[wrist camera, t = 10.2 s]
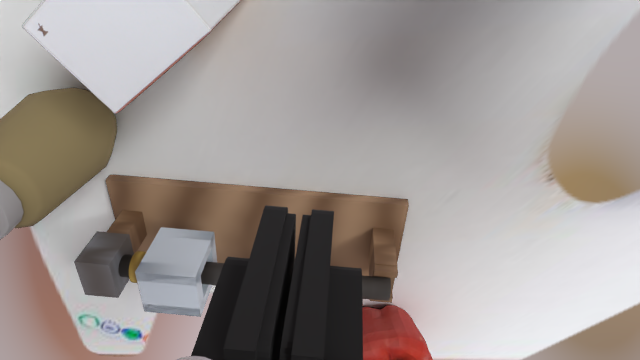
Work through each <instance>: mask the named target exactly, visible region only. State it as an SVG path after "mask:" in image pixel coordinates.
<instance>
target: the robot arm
mask: <svg viewBox="0 0 640 360" xmlns="http://www.w3.org/2000/svg"><path fill="white" fill-rule="evenodd" d="M333 220H334V211H326V210H314V209H312V212H311V215H303V216H302V221H301V227H300V233H299V239H298V245H297V251H296V257H295V239H296V214H291V213H288V207H279V206H267V205H266V206H265V207H264V210H263V213H262V217H261V220H260V224H259V227H258V230H257V234H256V237H255V241H254V244H253V248H252V251H251V254H250V258H238V257H227V258H226V260H225V262H224V265H223V268H222V270H221V273H220V276H219V279H218V282H217V285H216V287H215V290H214V293H213V296H212V299H211V301H210V304H209V308H208V310H207V313H206V315H205V318H204V321H203V324H202V327H201V330H200V332H199V335H198V338H197V341H196V344H195V347H194V349H193V352H192V355H191V356H189V357H184V358H180V359H177V360H363V311H362V269H361V268H351V267H340V266H330V262H331V248H332V234H333Z"/></svg>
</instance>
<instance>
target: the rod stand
mask: <svg viewBox="0 0 640 360" xmlns="http://www.w3.org/2000/svg"><path fill="white" fill-rule="evenodd" d="M106 184H107V188H108V192H109V196H110V200H111V204H112V208H113V212H114V216H115V221H114V223H113V224H112V225H111V227H110V228H109V230H108V231H107V232H96V234H95V235H94V236H93V238H92V239H91V240H90V242H89V243H88V244H87V246H86V247H85V248H84V250H83V251H82V252H81V254H80V255H79V256H78V258H77V259H76V260H75V262H74V263H75V266H76V269H77V272H78V275H79V277H80V280H81V283H82V286H83V289H84V292H85V295H94V296H105V297H116V298H118V297H119V296H120V294H121V292H122V291H123V289H124V287H125V285H126V284H127V282H128V280H129V279H130V281H131V282H134V283H137V278H136V274H135V271H136V269H137V268H138V266H139V264H140V263H141V261H142V259H143V257H144V256H145V254H146V252H147V250H148V249H149V247H150V245H151V244H152V242H153V240H154V238H155V237H156V235H157V233H158V231H159V230H160V228H161V227H164V228H176V229H187V230H199V231H210V232H214V235H215V245H216V255H217V262H206V264H205V266H204V269H203V271H202V274H201V282H202V284H207V285H217V282H218V279H219V276H220V273H221V270H222V268H223V265H224V262H225V260H226V258H227V257H238V258H250V254H251V251H252V248H253V244H254V241H255V237H256V234H257V230H258V227H259V224H260V220H261V217H262V213H263V210H264V207H265V206H266V205H267V206H279V207H288V213H291V214H296V239H295V257H296V251H297V245H298V239H299V233H300V227H301V221H302V216H303V215H311V212H312V209H314V210H326V211H334V220H333V234H332V248H331V262H330V266H340V267H351V268H361V269H362V299H370V301H379V302H390V303H392V298H393V297H392V289H393V284H394V279H395V278H397V274H398V270H397V261H398V256H399V251H400V246H401V241H402V236H403V231H404V226H405V221H406V216H407V211H408V206H409V205H408V199H397V198H385V197H373V196H361V195H349V194H337V193H325V192H313V191H301V190H289V189H277V188H265V187H253V186H242V185H230V184H218V183H206V182H194V181H182V180H170V179H158V178H146V177H134V176H122V175H109V177H108V178H107V179H106Z"/></svg>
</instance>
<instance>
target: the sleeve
mask: <svg viewBox="0 0 640 360" xmlns="http://www.w3.org/2000/svg"><path fill="white" fill-rule="evenodd" d="M206 262H217V255H216V245H215V235H214V232H210V231H199V230H187V229H176V228H164V227H161V228H160V230H159V231H158V233H157V235H156V237H155V238H154V240H153V242H152V244H151V245H150V247H149V249H148V250H147V252H146V254H145V256H144V257H143V259H142V261H141V263H140V264H139V266H138V268H137V269H136V271H135V274H136V278H137V283H138V287H139V291H140V295H141V299H142V303H143V307H144V311H145V312H156V313H167V314H178V315H189V316H200V317H201V314H202V312H203V309H204V306H205V304H206V301H207V298H208V295H209V293H210V290H211V287H212V285H207V284H202V282H201V274H202V271H203V269H204V266H205V264H206Z"/></svg>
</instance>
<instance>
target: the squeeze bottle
mask: <svg viewBox="0 0 640 360" xmlns="http://www.w3.org/2000/svg"><path fill="white" fill-rule="evenodd" d="M116 133H117V123H116V118H115V116H114V114H113V112H112V110H110V109H109V108H108V107H107V106H106V105H105V104H104V103H103V102H102V101H101V100H100V99H98V98H97V97H96V96H95V95H94V94H93V93H91V92H90V91H88V90H84V89H78V88H66V89H57V90H48V91H42V92H38V93H33V94H29V95H28V96H27V97H25V98H24V99H23V100H22V101H21V102H20V103H18V104H17V105H16V106H15V107H14V108H13V109H12V110H10V111H9V112H8V113H7V114H6V115H5V116H4V117H2V118H1V119H0V240H1V239H2V238H3V237H4V236H6V235H7V234H8V233H9V232H10V231H11V230H12V229H13V228H14V227H15V228H21V227H28V226H33V225H35V224H36V223H38V222H39V221H40V220H42V219H43V218H44V217H46V216H47V215H48V214H49V213H50V212H52V211H53V210H54V209H55V208H56V207H58V206H59V205H60V204H61V203H62V202H64V201H65V200H66V199H67V198H69V197H70V196H71V195H72V194H73V193H75V192H76V191H77V190H78V189H79V188H81V187H82V186H83V185H84V184H85V183H87V182H88V181H89V180H90V179H92V178H93V177H94V176H95V175H96V174H98V173H99V172H100V171H101V170H102V169H104V168H105V167H106V166H107V164H108V161H109V159H110V157H111V154H112V151H113V146H114V142H115V137H116Z"/></svg>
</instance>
